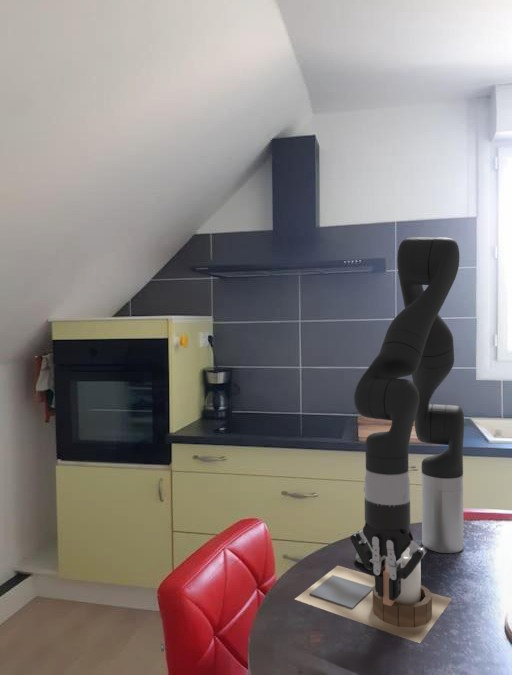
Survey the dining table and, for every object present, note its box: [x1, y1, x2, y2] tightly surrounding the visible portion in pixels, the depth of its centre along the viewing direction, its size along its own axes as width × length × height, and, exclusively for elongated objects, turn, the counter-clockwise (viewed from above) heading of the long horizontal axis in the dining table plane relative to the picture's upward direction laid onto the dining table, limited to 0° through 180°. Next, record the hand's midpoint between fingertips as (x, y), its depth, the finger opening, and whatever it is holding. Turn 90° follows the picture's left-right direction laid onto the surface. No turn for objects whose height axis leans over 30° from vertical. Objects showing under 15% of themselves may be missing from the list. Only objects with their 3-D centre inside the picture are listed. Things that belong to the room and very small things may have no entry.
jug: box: [383, 547, 422, 606], centre depth 96 cm, size 11×6×10 cm, turn 143°
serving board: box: [294, 565, 453, 645], centre depth 101 cm, size 17×24×5 cm
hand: (387, 596), depth 92 cm, fingers closed on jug
